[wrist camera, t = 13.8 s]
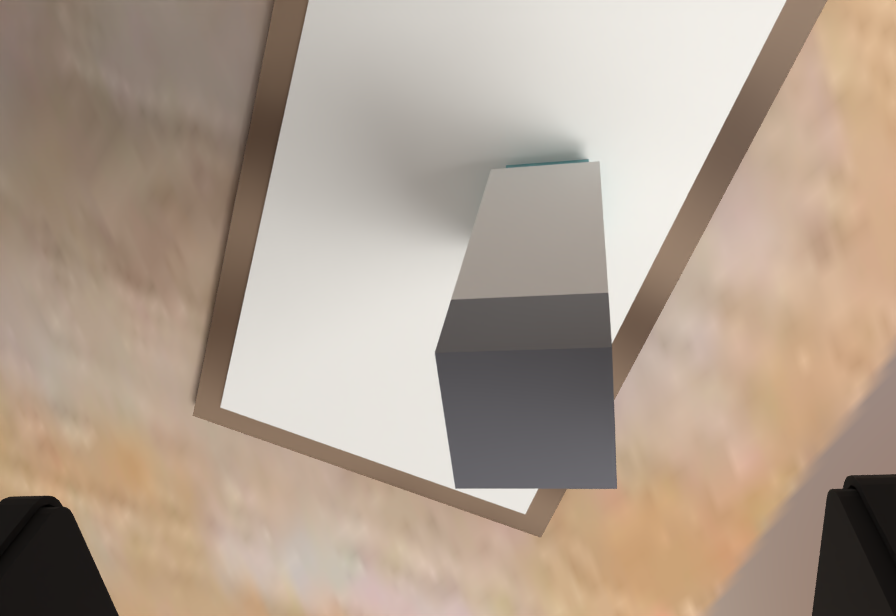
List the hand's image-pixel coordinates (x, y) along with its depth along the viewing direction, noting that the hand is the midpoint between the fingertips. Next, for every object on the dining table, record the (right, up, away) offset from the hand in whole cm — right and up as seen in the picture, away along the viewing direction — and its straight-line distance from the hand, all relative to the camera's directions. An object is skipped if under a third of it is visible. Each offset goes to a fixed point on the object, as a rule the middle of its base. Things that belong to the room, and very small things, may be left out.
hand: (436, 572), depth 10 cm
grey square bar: (+3, +6, +14) cm, 16 cm away
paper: (0, +6, +15) cm, 16 cm away
